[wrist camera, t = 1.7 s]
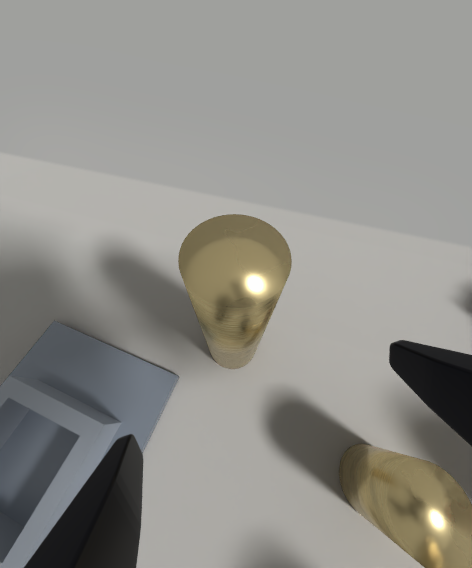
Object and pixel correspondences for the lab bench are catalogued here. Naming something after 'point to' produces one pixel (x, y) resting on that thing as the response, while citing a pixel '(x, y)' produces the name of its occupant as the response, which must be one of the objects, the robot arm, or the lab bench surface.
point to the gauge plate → (66, 428)
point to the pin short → (410, 504)
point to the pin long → (234, 282)
